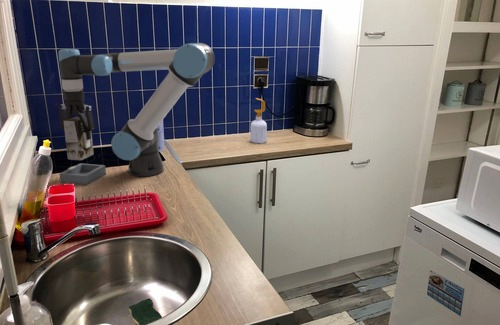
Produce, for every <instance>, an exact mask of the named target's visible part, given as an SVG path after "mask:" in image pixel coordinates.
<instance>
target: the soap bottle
mask: <svg viewBox="0 0 500 325" xmlns="http://www.w3.org/2000/svg"><path fill="white" fill-rule="evenodd" d="M255 100H258V101H261V109H254V112H256V115H255V119H254V120H252V121H251V123H250V142H251V143H253V144H265V143H266V142H267V141H268V140H267V136H268V134H267V133H268V132H267V130H268V124H267V122H266V121H265V120H264V119H262V118H263V116H262V115H261V113H263V112H265V111H266V101H265V100H263V99H262V98H257V97H255Z"/></svg>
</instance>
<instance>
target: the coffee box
mask: <svg viewBox="0 0 500 325" xmlns="http://www.w3.org/2000/svg"><path fill="white" fill-rule="evenodd" d="M86 119H87V118H86ZM63 130H64V138H65V139H64V140H65V146H66V155H67V159H68V160H72V161H83V160H85V159H87V158H89V157H91V156H93V155H94V146H93V135H92V134H91V139H90V146H91V147H88V148H85V143H84V134H83V132H84V131H85V130H84V128H83V124H82V120H80V118H79V116H74V117H73V118H72V119H67V120H64V129H63Z"/></svg>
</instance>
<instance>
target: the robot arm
mask: <svg viewBox="0 0 500 325" xmlns="http://www.w3.org/2000/svg"><path fill="white" fill-rule="evenodd" d="M215 60H216V59H215V53H214V50H213V49H212V48H211V47H210V46H209V45H208V44H206V43H203V42H190V43H189V42H188V43H185V44H183V45H181V46H180V47H178V48H177V49H163V50H161V49H159V50H147V51H146V50H145V51H129V52H108V53H102V54H86V55H85V54H81V53H80V50H79V49H76V48H75V49H74V48H72V49H71V48H67V49H66V48H64V49H60V50H58V63H59V64H58V65H59V69H60V76H61V79H60V80H61V86H62V90H63V91H62V95H63V96H62V97H63V100H64V103H62V104H59V105H58V106H57V107H58V109H59V120H60V121H59V122H60V124H59V125H60V129H61V130H64V120H67V119H72V118H74V117H75V115H77V117H79V118H80V120H82V124H83V128H84V130H85V131H84V132H83V134H84V143H85V148H88V147H91V146H90V139H91V135H92V131H94V130H95V129H96V127H95V123H94V121H95V120H94V115H93V106H92V105H88V104H86V102H85V91H84V90H83V89H84V83H83V76H98V77H103V76H109V75H111V73H123V72H140V71H142V72H143V71H160V70H161V71H162V70H165V71H166V70H168V73H167V75H166V76H165V77H164V79H163V80H162V81H161V83H160V84H159V86H158V87H157V88H156V90H155V91H154V92H153V94H152V95H151V96H150V97H149V99H148V101H147V102H146V103H145V104H144V106H143V107H142V108H141V110H140V111H139V113H138V114H137V116H135V117H134V119H133V118H131V119H129V120H127V122H126V123H125V125H124V126H123V127H122V128H121V130H120V131H118V132H116V133H115V134H114V135H113V137H112V139H111V144H110V145H111V150H112V152H113V153H114V154H115V156H116V157H118V158H119V159H121V160H124V161H129V164H128V173H129V175H131V176H134V177H151V176H156V175H161V174H162V173H163V172H164V170H165V167H164V163H163V161H162V158H161V156H160V152H159V147H158V127H157V126H158V125H159V124H160V123H161V121H162V120H163V121H164V118H166V117H167V114H168V113H170V111H171V110H172V109H173V108H174V106H175V105H176V104H177V102H178V101H179V99H180V98H181V96H182V95H183V94H184V93H185V92H186V90H187V89H188V88H191V87H195V85H196V84H197V82H198V81H199V80H200V79H201V78H202V76H203V75H204V74H207V73H208V72H210V71H211V70H212V69H213V66H214V64H215ZM86 118H87V119H86Z"/></svg>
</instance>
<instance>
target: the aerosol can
mask: <svg viewBox="0 0 500 325" xmlns="http://www.w3.org/2000/svg"><path fill="white" fill-rule="evenodd" d="M157 127H158V147H159V153H160V151H161V152H164V151H166V148H165V134H164V133H165V132H164V119H163V120H162V121H161V123H160V124H159V125H158V126H157ZM163 150H164V151H163Z"/></svg>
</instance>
